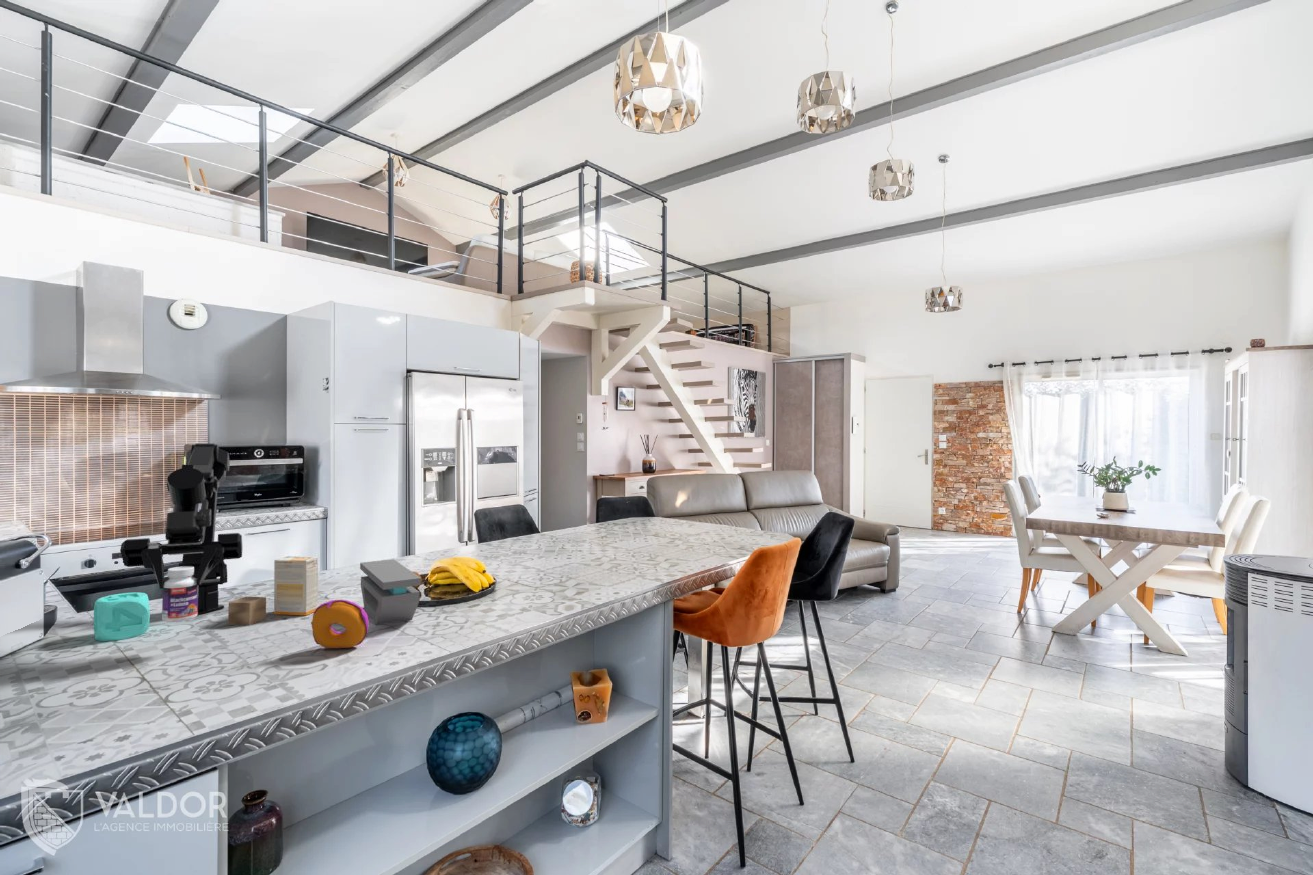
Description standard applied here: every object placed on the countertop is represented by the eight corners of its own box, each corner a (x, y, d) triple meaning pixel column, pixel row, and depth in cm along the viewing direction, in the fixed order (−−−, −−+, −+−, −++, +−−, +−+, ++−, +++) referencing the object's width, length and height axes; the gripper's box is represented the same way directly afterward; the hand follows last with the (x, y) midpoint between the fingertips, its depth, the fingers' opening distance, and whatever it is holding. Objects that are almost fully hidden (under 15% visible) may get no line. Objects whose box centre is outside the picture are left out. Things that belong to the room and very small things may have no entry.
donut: (340, 640, 123) (341, 591, 123) (373, 646, 120) (374, 596, 120) (305, 652, 116) (305, 601, 116) (339, 659, 113) (340, 606, 113)
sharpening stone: (420, 626, 133) (421, 577, 133) (382, 633, 128) (383, 582, 128) (393, 601, 153) (393, 559, 153) (359, 606, 148) (360, 562, 148)
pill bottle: (168, 624, 111) (169, 572, 111) (157, 619, 114) (157, 568, 114) (202, 617, 116) (203, 567, 116) (190, 612, 119) (191, 563, 119)
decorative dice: (149, 635, 125) (150, 596, 125) (97, 644, 119) (98, 604, 119) (143, 626, 130) (143, 590, 131) (93, 635, 125) (93, 596, 125)
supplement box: (319, 610, 144) (319, 556, 144) (305, 616, 139) (306, 560, 139) (287, 609, 145) (288, 555, 145) (272, 614, 140) (273, 559, 140)
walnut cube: (228, 624, 133) (228, 602, 133) (245, 618, 138) (245, 596, 138) (249, 625, 132) (249, 603, 132) (265, 618, 137) (266, 597, 137)
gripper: (123, 497, 113) (107, 566, 104) (242, 493, 123) (237, 556, 114) (132, 532, 120) (117, 600, 111) (244, 526, 130) (239, 588, 121)
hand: (179, 585), depth 114 cm, fingers closed on pill bottle, 5 cm apart
